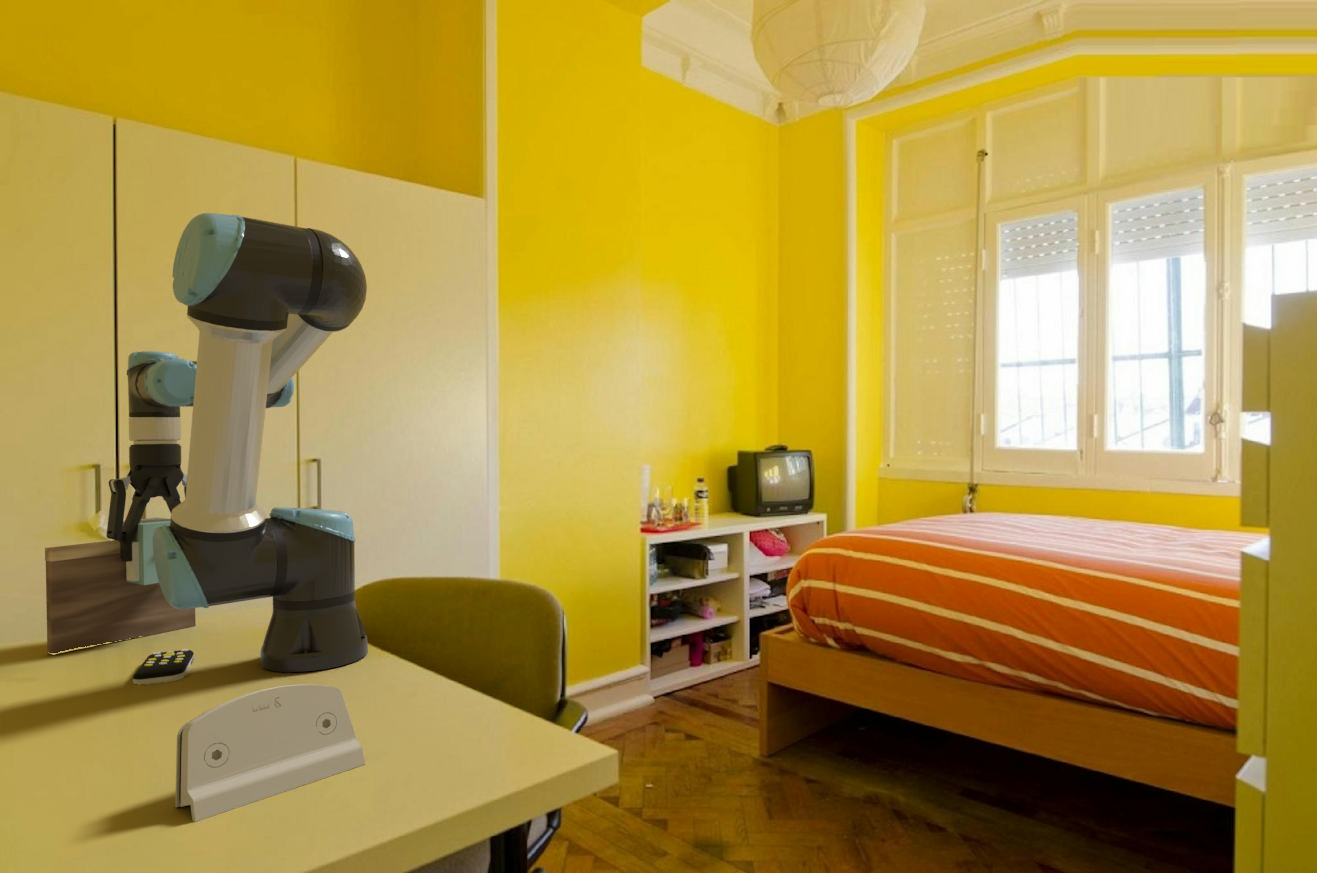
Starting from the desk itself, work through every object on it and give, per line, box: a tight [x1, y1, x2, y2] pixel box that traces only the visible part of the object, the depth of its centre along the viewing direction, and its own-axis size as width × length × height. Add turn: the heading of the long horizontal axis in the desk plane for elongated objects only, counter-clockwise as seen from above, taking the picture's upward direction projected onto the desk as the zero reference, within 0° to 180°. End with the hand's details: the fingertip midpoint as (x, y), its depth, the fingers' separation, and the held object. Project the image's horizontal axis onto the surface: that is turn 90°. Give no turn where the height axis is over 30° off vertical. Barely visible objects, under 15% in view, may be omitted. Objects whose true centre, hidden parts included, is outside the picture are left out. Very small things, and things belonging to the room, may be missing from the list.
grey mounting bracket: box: [174, 683, 366, 822], centre depth 79 cm, size 17×5×10 cm, turn 137°
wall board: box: [44, 539, 196, 653], centre depth 135 cm, size 2×22×17 cm, turn 148°
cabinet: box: [123, 517, 171, 585], centre depth 136 cm, size 11×7×10 cm, turn 58°
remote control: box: [132, 648, 195, 686], centre depth 116 cm, size 6×13×2 cm, turn 24°
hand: (157, 576), depth 135 cm, fingers closed on cabinet, 7 cm apart
